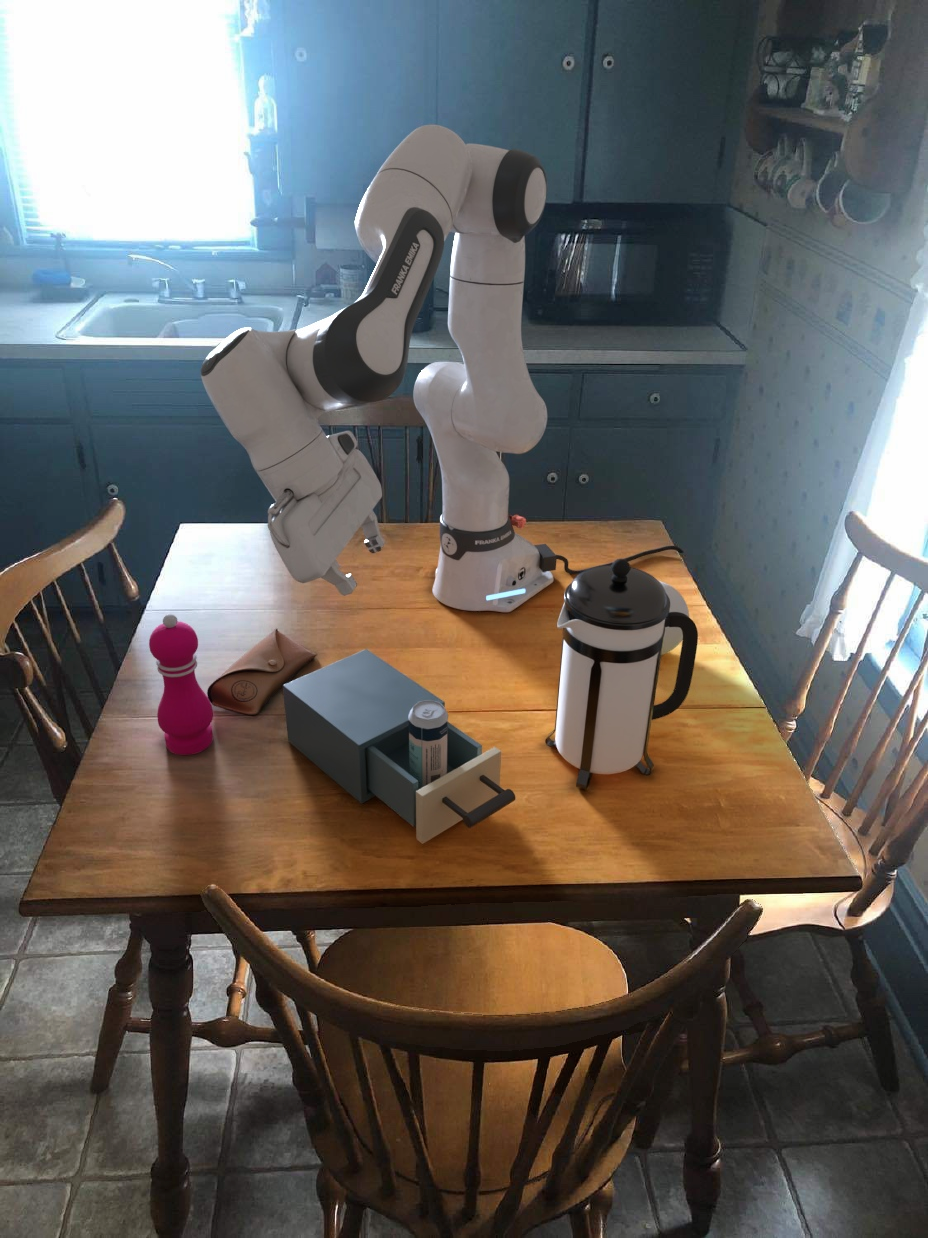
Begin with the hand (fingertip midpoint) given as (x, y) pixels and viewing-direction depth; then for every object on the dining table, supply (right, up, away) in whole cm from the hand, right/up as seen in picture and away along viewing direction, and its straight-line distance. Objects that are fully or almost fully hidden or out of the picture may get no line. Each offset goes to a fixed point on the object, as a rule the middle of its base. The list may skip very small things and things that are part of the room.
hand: (365, 569), depth 113 cm
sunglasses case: (-18, -15, +29) cm, 38 cm away
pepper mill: (-26, -23, +16) cm, 38 cm away
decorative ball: (+41, -11, +38) cm, 57 cm away
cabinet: (-2, -24, +15) cm, 28 cm away
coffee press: (+31, -24, +16) cm, 42 cm away
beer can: (+7, -27, +6) cm, 29 cm away
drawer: (+8, -28, +6) cm, 30 cm away
